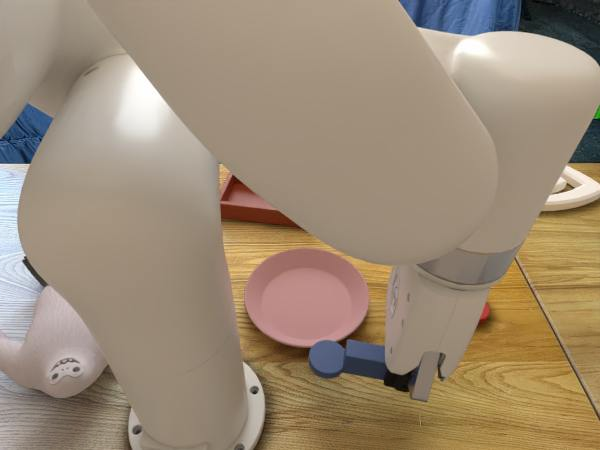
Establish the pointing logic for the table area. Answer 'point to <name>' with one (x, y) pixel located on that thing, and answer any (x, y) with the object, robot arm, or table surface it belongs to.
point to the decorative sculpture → (572, 191)
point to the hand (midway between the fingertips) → (400, 373)
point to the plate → (306, 297)
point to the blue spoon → (347, 359)
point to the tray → (248, 204)
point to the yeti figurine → (52, 348)
